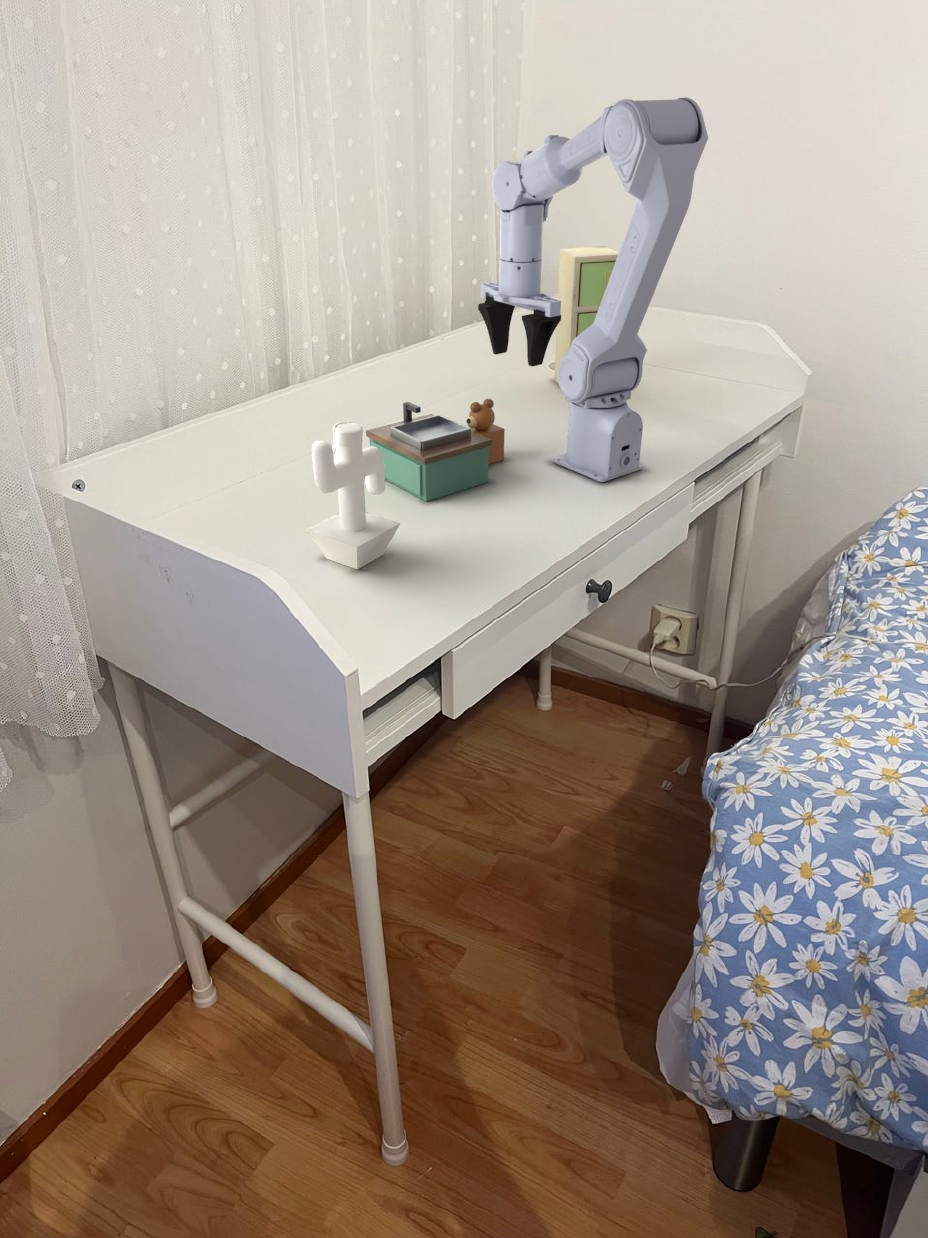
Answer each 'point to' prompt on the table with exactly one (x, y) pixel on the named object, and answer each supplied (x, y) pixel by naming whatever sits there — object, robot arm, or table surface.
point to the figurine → (350, 498)
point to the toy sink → (431, 454)
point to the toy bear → (487, 428)
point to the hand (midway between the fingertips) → (517, 358)
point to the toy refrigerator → (580, 292)
